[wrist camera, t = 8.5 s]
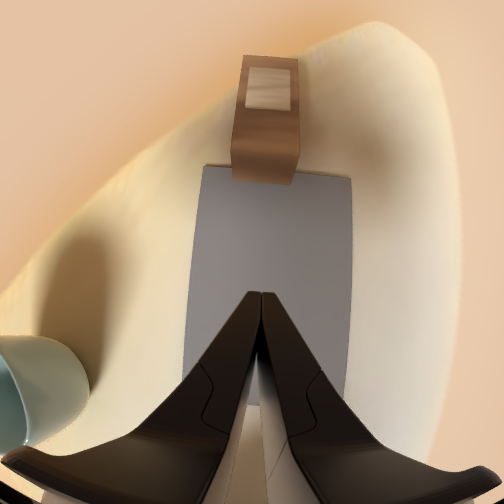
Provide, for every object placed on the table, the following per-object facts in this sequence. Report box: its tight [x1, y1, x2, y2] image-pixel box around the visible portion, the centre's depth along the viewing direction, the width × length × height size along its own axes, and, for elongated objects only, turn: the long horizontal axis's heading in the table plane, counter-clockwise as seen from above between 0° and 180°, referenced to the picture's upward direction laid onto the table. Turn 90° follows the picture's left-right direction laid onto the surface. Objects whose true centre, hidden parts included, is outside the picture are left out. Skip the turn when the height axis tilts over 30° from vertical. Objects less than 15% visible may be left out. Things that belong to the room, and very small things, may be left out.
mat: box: [182, 166, 352, 405], centre depth 23 cm, size 18×12×1 cm, turn 176°
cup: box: [0, 335, 90, 456], centre depth 16 cm, size 8×8×10 cm
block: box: [230, 55, 299, 185], centre depth 23 cm, size 5×4×10 cm
